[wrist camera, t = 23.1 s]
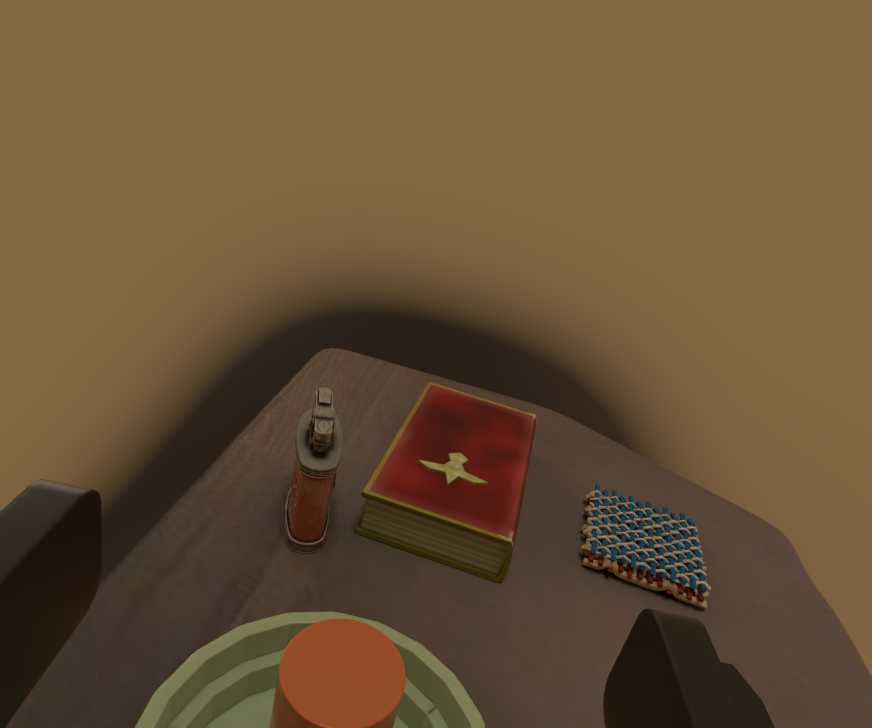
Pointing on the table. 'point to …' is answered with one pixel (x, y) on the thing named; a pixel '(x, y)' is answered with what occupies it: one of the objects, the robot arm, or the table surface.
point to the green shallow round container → (258, 670)
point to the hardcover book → (453, 482)
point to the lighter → (313, 475)
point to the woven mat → (644, 546)
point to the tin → (338, 678)
